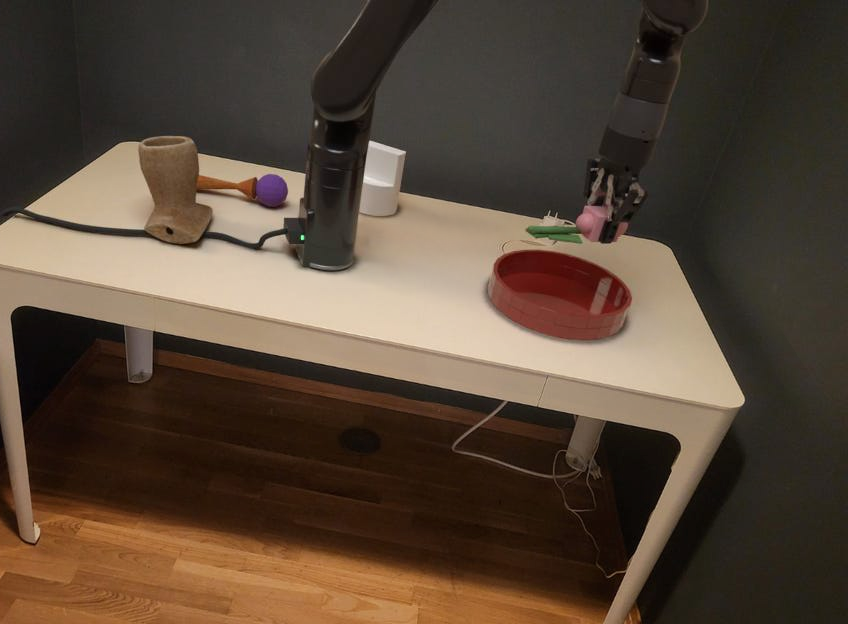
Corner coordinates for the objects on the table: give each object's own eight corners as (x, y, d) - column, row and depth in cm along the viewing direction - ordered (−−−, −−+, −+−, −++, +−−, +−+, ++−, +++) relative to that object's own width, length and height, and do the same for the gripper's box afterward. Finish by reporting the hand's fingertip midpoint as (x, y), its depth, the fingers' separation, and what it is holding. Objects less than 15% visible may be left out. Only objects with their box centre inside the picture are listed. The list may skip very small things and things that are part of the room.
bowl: (523, 344, 111) (530, 319, 108) (467, 273, 128) (472, 249, 126) (649, 339, 117) (659, 314, 115) (580, 271, 135) (587, 249, 132)
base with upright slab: (343, 206, 145) (350, 146, 139) (365, 194, 152) (373, 136, 146) (383, 220, 142) (392, 159, 136) (404, 207, 149) (414, 148, 142)
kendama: (190, 162, 143) (291, 173, 141) (190, 193, 145) (290, 205, 143) (178, 166, 137) (283, 178, 135) (178, 199, 140) (282, 210, 138)
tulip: (533, 243, 111) (541, 217, 109) (517, 227, 116) (524, 201, 113) (630, 244, 116) (639, 219, 114) (611, 228, 121) (619, 204, 118)
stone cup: (152, 205, 134) (150, 122, 126) (218, 214, 134) (220, 132, 126) (125, 240, 121) (120, 151, 113) (198, 251, 122) (198, 162, 114)
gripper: (586, 111, 112) (554, 216, 122) (638, 143, 101) (599, 256, 110) (628, 114, 114) (594, 217, 124) (684, 146, 103) (641, 256, 113)
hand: (597, 235), depth 117 cm, fingers closed on tulip, 4 cm apart
